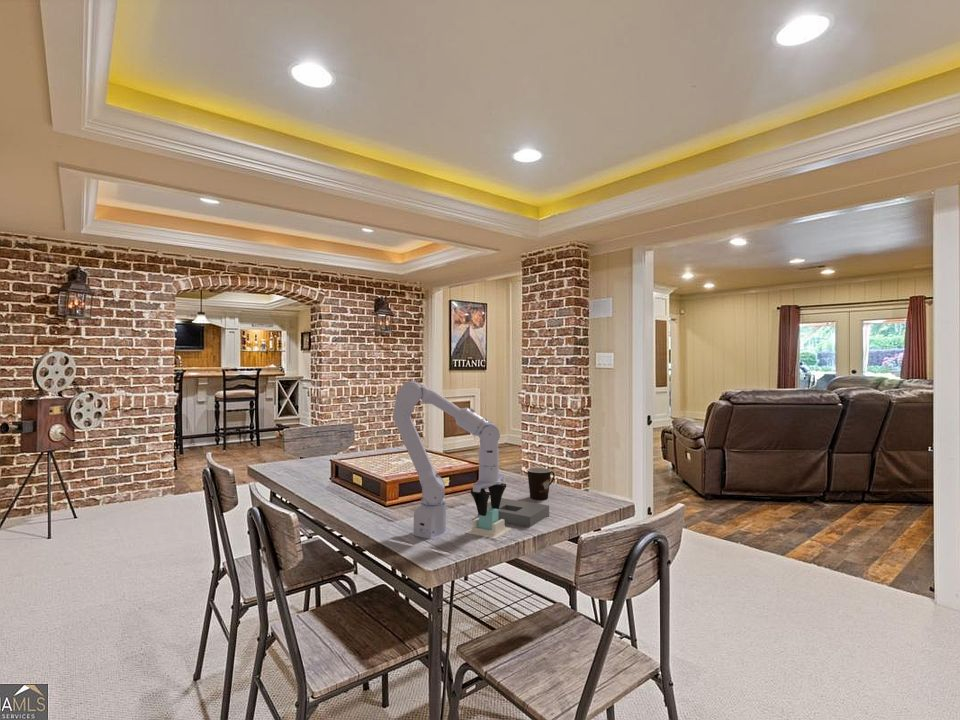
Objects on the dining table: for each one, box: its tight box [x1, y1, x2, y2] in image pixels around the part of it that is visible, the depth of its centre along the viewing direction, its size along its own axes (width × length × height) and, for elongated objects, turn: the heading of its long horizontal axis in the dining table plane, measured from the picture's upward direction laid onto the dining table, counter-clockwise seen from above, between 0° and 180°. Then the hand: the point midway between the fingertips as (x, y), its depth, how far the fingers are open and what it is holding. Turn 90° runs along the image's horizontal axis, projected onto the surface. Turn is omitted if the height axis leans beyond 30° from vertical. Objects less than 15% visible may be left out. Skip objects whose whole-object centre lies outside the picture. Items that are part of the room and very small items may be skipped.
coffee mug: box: [526, 467, 556, 501], centre depth 188 cm, size 12×9×10 cm
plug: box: [479, 507, 498, 530], centre depth 150 cm, size 4×4×6 cm
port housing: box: [477, 497, 550, 528], centre depth 164 cm, size 14×18×4 cm
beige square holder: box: [464, 516, 512, 539], centre depth 150 cm, size 10×10×4 cm
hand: (488, 511), depth 150 cm, fingers open, 7 cm apart
